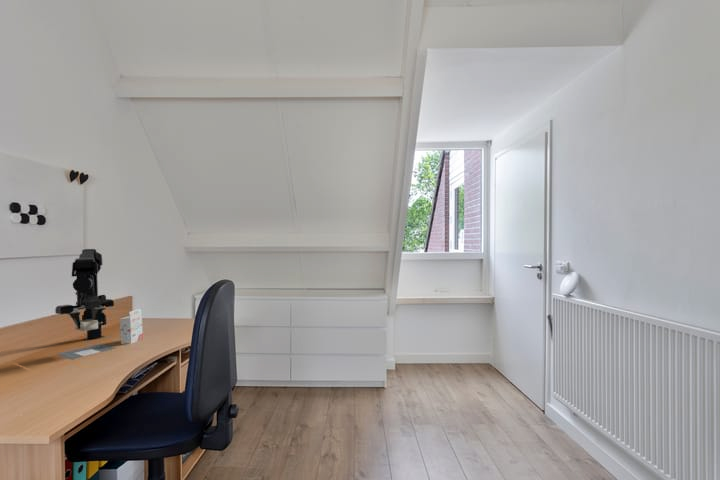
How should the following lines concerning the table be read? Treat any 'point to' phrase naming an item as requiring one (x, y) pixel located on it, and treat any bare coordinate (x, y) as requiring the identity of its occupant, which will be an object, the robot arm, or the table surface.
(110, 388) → the table surface
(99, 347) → the charcoal mat
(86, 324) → the off-white banded block
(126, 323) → the ink cartridge box
